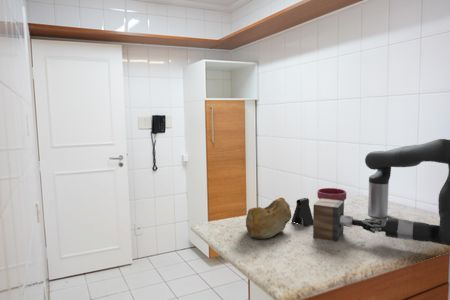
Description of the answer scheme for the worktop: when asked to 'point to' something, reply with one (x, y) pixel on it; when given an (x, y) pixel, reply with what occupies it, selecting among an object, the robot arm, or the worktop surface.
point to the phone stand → (303, 213)
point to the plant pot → (332, 194)
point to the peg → (345, 221)
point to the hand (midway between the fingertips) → (352, 222)
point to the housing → (327, 219)
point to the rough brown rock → (268, 219)
